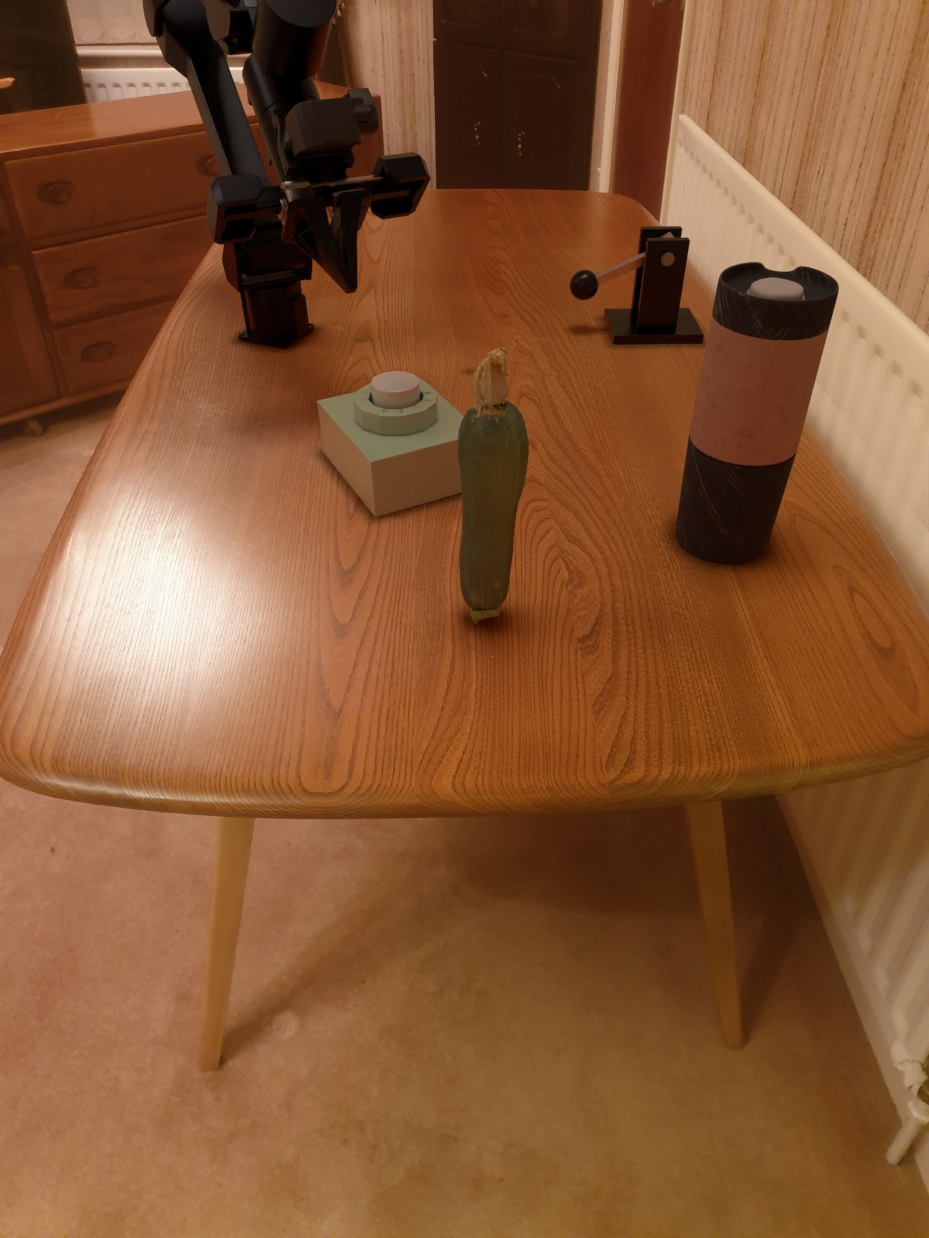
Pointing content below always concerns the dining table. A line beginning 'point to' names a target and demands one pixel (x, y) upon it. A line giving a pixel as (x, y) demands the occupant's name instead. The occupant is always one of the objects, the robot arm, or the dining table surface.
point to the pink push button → (395, 390)
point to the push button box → (393, 448)
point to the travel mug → (751, 406)
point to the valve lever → (604, 275)
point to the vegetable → (490, 487)
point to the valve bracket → (657, 295)
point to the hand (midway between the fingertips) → (352, 291)
